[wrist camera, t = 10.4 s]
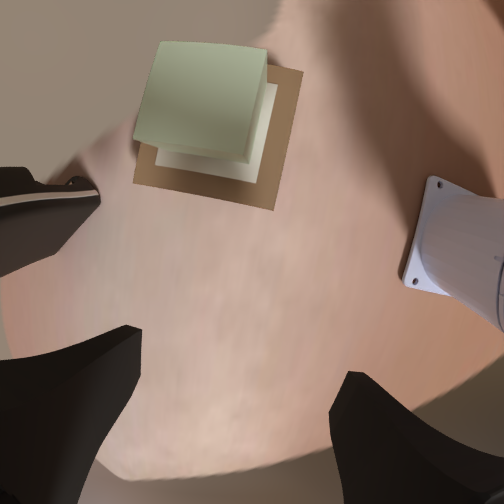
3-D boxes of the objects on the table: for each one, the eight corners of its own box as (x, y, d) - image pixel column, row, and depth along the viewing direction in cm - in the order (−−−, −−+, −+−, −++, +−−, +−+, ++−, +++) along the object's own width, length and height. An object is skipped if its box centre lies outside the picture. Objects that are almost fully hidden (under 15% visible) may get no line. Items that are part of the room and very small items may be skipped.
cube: (266, 85, 14) (267, 49, 9) (249, 164, 15) (243, 155, 10) (186, 75, 14) (160, 41, 9) (167, 150, 15) (132, 139, 10)
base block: (298, 88, 16) (303, 71, 13) (272, 207, 18) (273, 211, 15) (178, 70, 16) (164, 52, 13) (151, 183, 18) (131, 183, 15)
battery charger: (82, 160, 18) (-43, 155, 7) (107, 200, 19) (-21, 222, 7) (34, 219, 19) (-74, 248, 8) (55, 256, 20) (-52, 304, 9)
